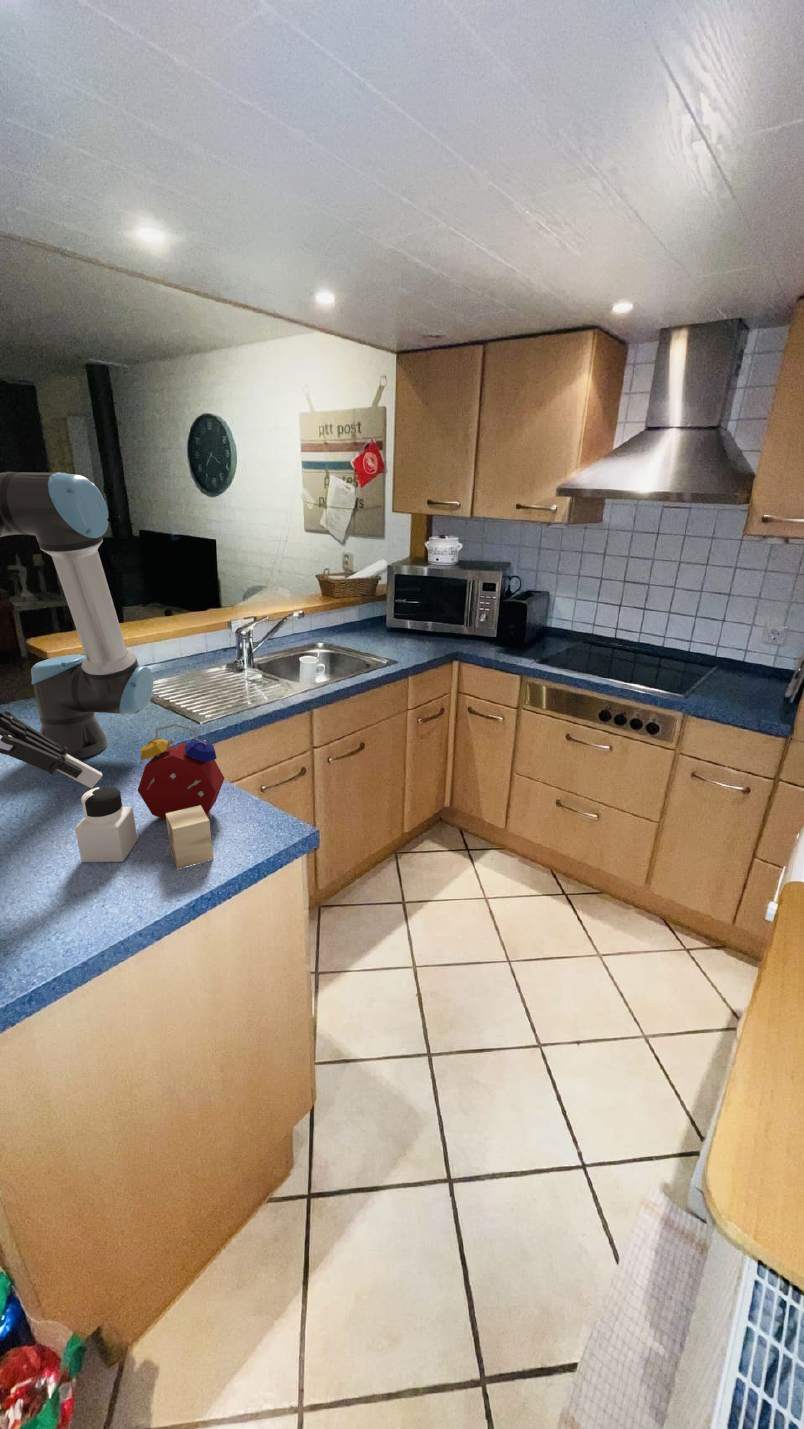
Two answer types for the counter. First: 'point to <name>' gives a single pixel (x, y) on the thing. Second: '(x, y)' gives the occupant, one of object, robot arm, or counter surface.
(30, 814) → the counter surface
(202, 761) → the alarm clock
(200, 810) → the beech block
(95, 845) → the medicine bottle
